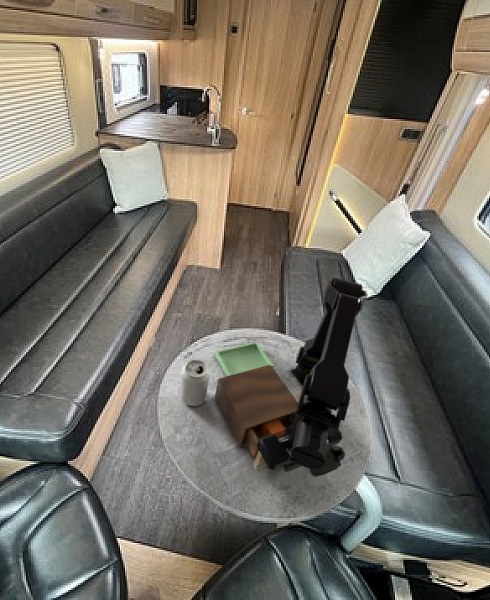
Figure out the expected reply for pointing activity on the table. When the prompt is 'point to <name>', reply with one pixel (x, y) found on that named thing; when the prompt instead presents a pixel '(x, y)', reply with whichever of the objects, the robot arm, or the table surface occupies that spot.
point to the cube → (272, 428)
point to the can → (194, 382)
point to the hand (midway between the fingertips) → (290, 460)
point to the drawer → (252, 441)
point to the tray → (242, 358)
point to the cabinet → (253, 400)
